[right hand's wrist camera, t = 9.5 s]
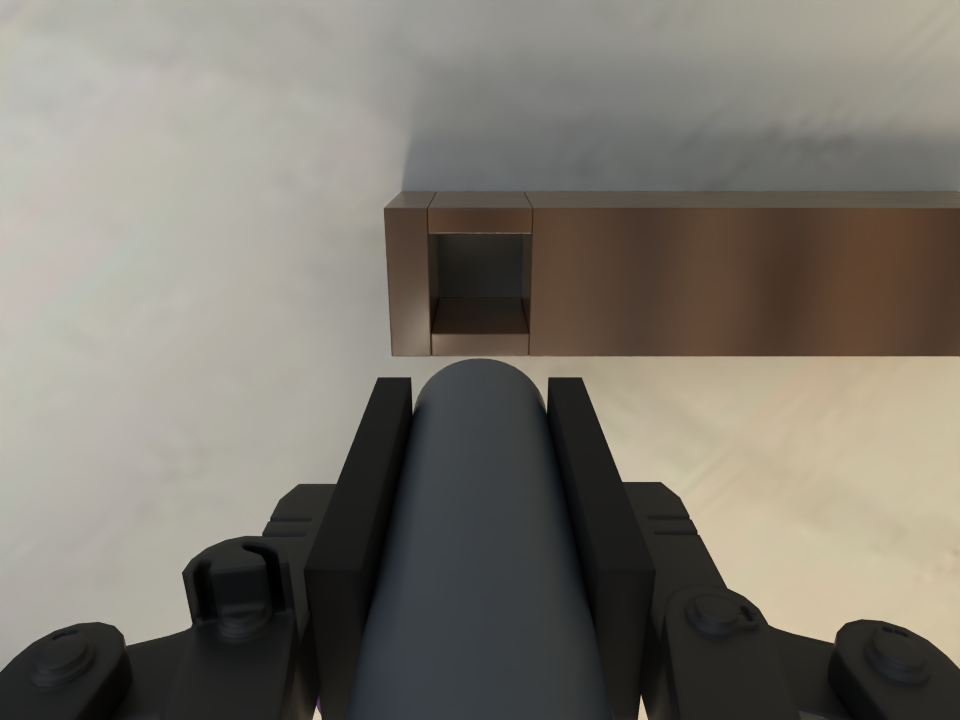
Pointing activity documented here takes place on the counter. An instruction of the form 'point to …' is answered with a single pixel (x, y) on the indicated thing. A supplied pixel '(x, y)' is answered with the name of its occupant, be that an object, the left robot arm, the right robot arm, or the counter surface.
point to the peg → (479, 568)
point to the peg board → (685, 274)
